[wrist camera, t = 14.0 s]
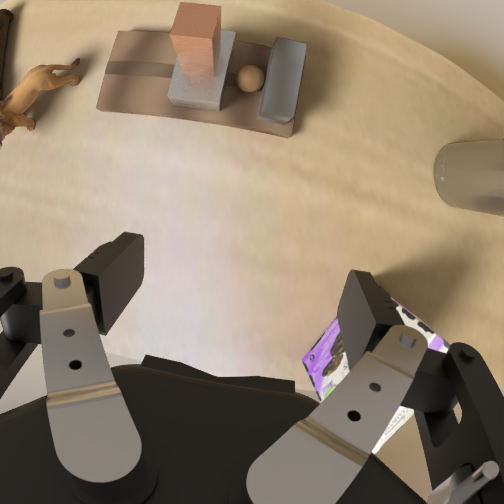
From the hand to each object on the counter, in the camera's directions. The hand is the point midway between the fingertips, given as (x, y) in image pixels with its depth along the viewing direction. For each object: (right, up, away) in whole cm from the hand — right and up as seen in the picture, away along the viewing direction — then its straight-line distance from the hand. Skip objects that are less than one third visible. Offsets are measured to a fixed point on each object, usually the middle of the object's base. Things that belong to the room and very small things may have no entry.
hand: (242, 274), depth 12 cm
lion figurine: (-26, +19, +19) cm, 37 cm away
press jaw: (-5, +20, +18) cm, 27 cm away
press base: (-5, +20, +20) cm, 29 cm away
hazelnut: (0, +19, +19) cm, 27 cm away
